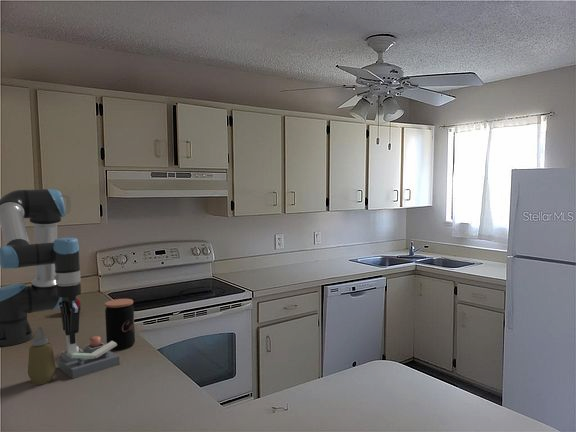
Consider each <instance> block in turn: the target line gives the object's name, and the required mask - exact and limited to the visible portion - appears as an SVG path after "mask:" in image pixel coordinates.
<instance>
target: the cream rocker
mask: <svg viewBox="0 0 576 432" xmlns="http://www.w3.org/2000/svg"><path fill="white" fill-rule="evenodd" d="M105 344H106V345H104V346H102V347H101V348H99V349H97V350H96V351H94V352H92V353H91V354H93V355H95V358H97V357H99V356H101V355H102V354H104V353H106V354H108V352H109V351H112V350H111V349H112V348H114V347H115V346H117V343H115V342H113V341H111V342H109V343H107V342H106V343H105Z"/></svg>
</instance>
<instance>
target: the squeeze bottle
mask: <svg viewBox="0 0 576 432" xmlns="http://www.w3.org/2000/svg"><path fill="white" fill-rule="evenodd" d="M31 343H32V344H31V346H30V347H29V348H28V363H27V374H28V376H29V379H30V381H31V384H32V385H44V384H48V383H49V382H51V381H53V378H54V376H55V372H56V363H55V357H54V351H53V345H52V344H51V343H50V342H49V337H48V336H45V334H44V330H43V328H42V327H41V326H40V327H37V329H36V334H35V338H34V337H33V338H32V339H31Z"/></svg>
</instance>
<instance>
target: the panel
mask: <svg viewBox="0 0 576 432" xmlns="http://www.w3.org/2000/svg"><path fill="white" fill-rule="evenodd" d="M106 344H107V343H104V342H102V341H101V346H99V347H95V348H91V347H90V343H89V344H85V345H84V349H82V348H80V347H78V348H79V352H77V353H92V352H94V351H96V350H97V349H99V348H101V347H102V346H104V345H106ZM67 355H68V354H67V349H66V350H63V351H61V358H58V359H57V363H58V365H57V367H58V369H60V370H61V371H62V372H64V373H65V374H66V375H67V376H69V377H70V378H72V379H77V378H79V377H84V376H86V375H90V374H93V373H96V372H99V371H103V370H105V369H109V368H112V367H115V366H118V365H121V363H120V356H119V355H118V354H117V353H115V352H113V351H112V350H109V352H108V354H106V353H104V354H102V355H101V356H99V357H97V358H94V359H87V358H84V360H83V361H82V360H80V359H79V358H70V357H69V356H67ZM89 373H90V374H89Z"/></svg>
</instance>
